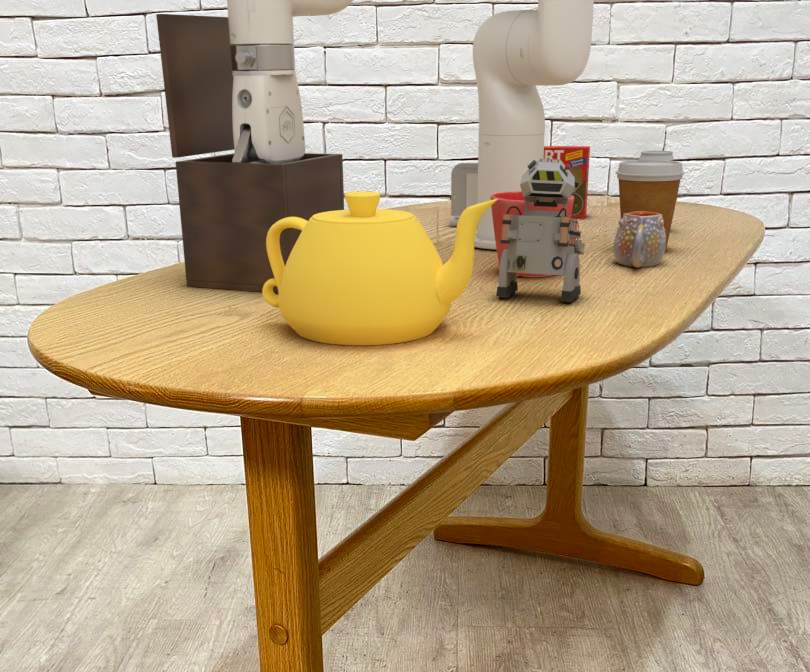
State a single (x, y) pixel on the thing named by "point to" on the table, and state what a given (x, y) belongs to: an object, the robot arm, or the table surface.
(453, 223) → the handheld gaming console
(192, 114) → the lid
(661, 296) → the table surface
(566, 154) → the toy box
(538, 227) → the figurine
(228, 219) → the case
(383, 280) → the teapot
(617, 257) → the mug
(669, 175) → the disposable coffee cup
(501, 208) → the flower pot
